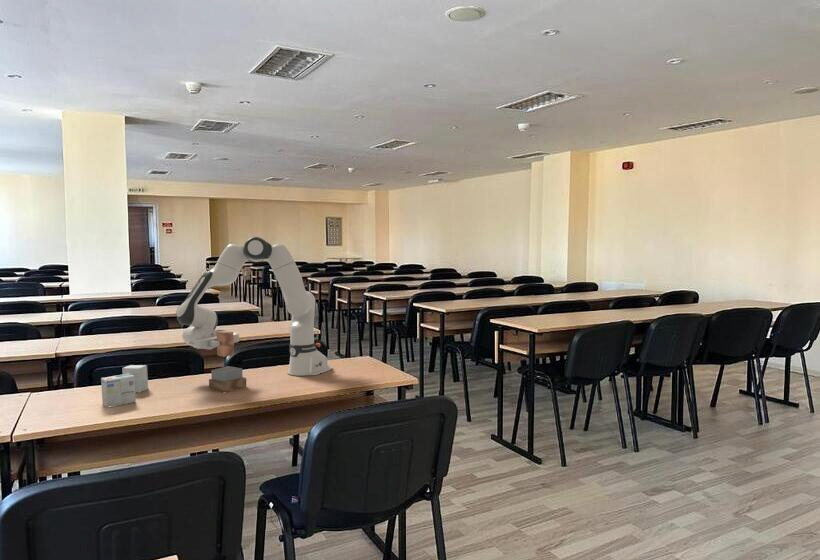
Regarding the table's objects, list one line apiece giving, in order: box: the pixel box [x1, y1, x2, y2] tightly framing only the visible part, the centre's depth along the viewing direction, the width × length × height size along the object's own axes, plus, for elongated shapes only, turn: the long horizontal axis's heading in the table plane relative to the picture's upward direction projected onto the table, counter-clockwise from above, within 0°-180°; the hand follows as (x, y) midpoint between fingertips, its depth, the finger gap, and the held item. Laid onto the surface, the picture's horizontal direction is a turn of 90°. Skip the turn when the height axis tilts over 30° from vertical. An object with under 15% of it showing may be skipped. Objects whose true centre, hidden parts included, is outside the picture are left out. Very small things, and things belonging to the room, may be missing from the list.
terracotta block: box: [216, 330, 235, 358], centre depth 238 cm, size 5×5×10 cm
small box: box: [121, 364, 149, 393], centre depth 235 cm, size 8×6×10 cm
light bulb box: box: [100, 373, 137, 408], centre depth 216 cm, size 11×7×11 cm, turn 135°
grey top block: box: [210, 365, 244, 382], centre depth 239 cm, size 9×9×4 cm
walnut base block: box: [208, 376, 247, 393], centre depth 239 cm, size 11×11×4 cm
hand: (226, 342), depth 237 cm, fingers closed on terracotta block, 5 cm apart
